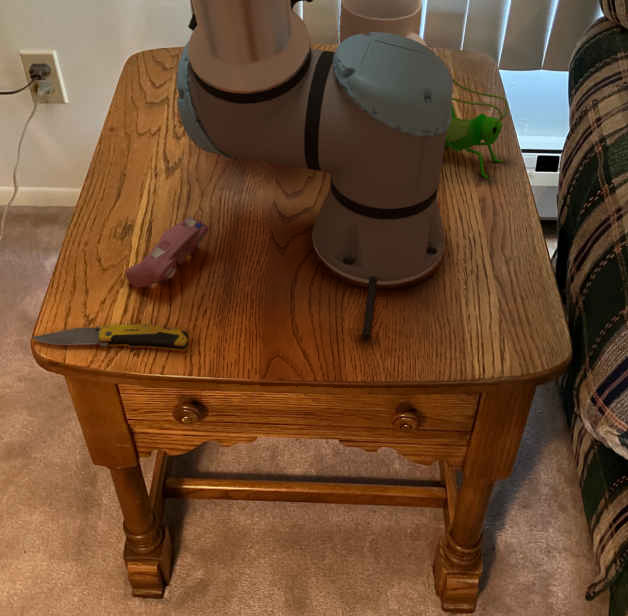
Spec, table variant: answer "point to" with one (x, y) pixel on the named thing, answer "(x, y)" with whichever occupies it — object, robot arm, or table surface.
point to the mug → (381, 18)
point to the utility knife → (121, 336)
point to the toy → (474, 129)
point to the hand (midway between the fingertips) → (226, 43)
